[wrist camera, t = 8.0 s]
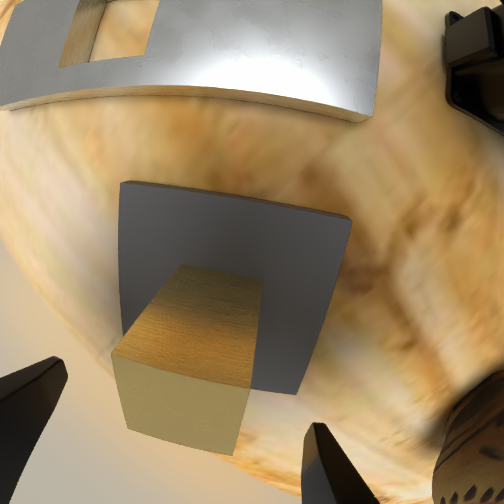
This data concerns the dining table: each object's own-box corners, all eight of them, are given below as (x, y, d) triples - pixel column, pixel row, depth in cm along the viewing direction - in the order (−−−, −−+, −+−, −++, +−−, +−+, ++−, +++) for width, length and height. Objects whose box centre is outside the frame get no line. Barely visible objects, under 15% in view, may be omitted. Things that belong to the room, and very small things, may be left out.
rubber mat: (347, 216, 13) (352, 221, 12) (295, 383, 17) (296, 394, 16) (129, 180, 13) (120, 182, 12) (132, 349, 17) (126, 358, 16)
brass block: (263, 279, 13) (250, 389, 7) (249, 344, 15) (232, 455, 8) (181, 263, 14) (110, 353, 7) (177, 329, 15) (127, 428, 8)
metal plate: (368, -6, 9) (382, -28, 7) (355, 122, 12) (372, 116, 9) (36, 12, 9) (15, 5, 7) (10, 110, 12) (-15, 110, 10)
